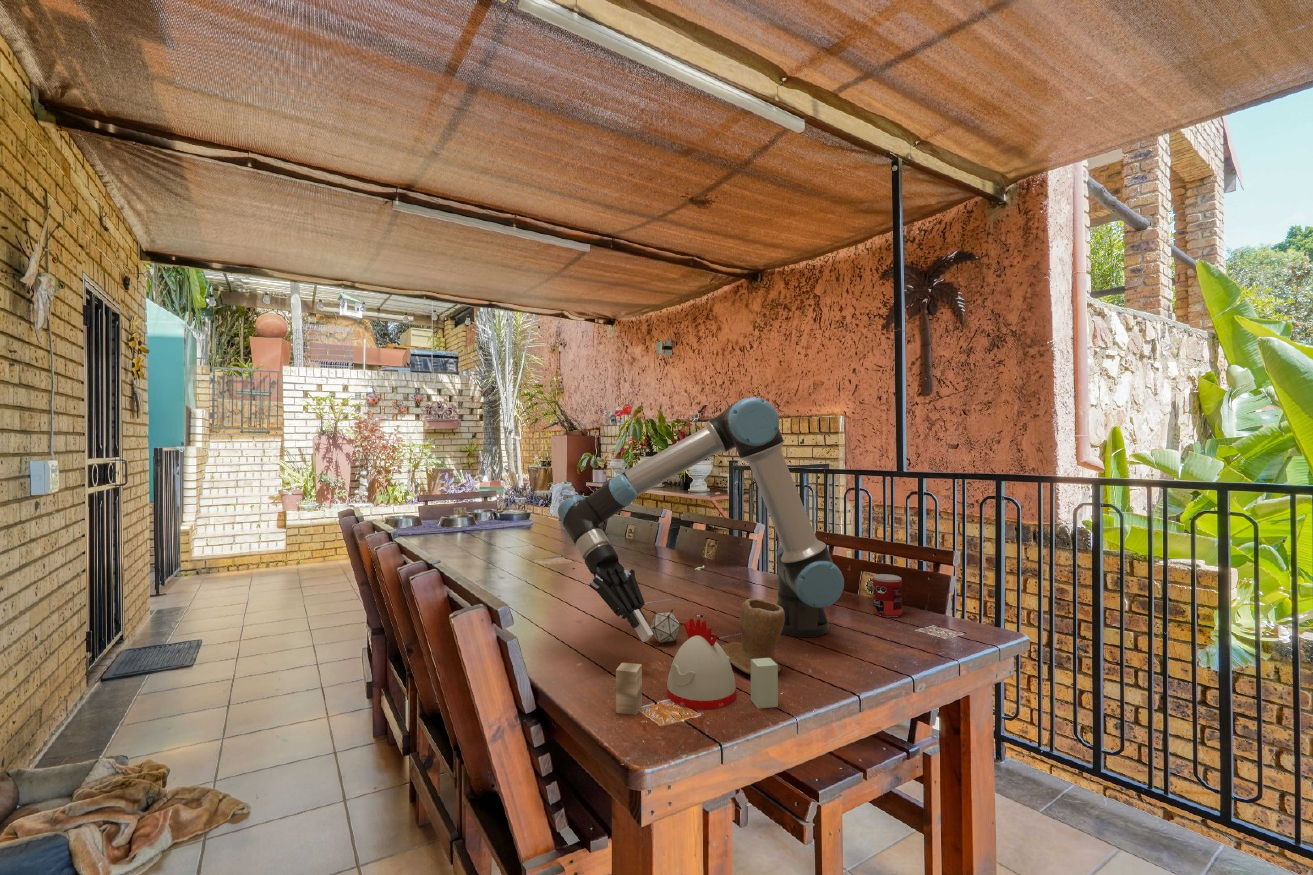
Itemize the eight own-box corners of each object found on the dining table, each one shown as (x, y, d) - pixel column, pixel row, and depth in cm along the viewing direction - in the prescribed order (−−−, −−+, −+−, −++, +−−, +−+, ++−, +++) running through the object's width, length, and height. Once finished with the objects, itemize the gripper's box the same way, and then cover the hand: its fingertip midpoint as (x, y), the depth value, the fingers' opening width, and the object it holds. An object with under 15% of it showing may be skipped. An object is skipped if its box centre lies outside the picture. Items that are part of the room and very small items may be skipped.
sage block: (769, 697, 119) (769, 657, 119) (777, 706, 115) (777, 664, 115) (750, 699, 118) (750, 659, 118) (758, 708, 114) (757, 666, 114)
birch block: (642, 705, 116) (641, 664, 116) (636, 714, 112) (636, 671, 112) (622, 703, 116) (622, 662, 117) (616, 712, 113) (615, 670, 113)
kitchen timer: (698, 675, 131) (697, 606, 131) (749, 693, 121) (749, 619, 121) (653, 694, 121) (652, 620, 121) (705, 716, 111) (704, 635, 111)
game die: (670, 659, 150) (679, 635, 144) (639, 645, 152) (646, 620, 146) (682, 632, 157) (690, 608, 152) (652, 619, 159) (659, 595, 153)
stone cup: (795, 675, 130) (795, 606, 130) (746, 682, 126) (746, 611, 126) (761, 652, 144) (760, 590, 145) (716, 658, 141) (716, 594, 141)
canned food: (870, 610, 180) (870, 573, 180) (898, 611, 179) (898, 574, 179) (876, 617, 172) (875, 579, 172) (905, 618, 171) (905, 580, 171)
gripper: (610, 558, 149) (659, 640, 138) (569, 566, 140) (618, 655, 128) (624, 539, 146) (676, 621, 134) (583, 546, 136) (635, 635, 125)
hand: (648, 637), depth 131 cm, fingers closed
